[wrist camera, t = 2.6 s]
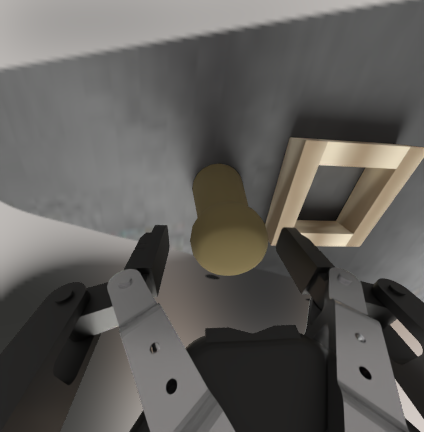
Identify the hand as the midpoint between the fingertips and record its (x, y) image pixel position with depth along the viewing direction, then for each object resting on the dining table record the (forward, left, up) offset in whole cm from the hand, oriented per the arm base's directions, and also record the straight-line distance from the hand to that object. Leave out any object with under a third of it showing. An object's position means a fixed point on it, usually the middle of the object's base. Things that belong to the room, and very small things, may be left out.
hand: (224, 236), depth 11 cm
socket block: (-13, 0, -9) cm, 16 cm away
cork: (0, 0, -9) cm, 9 cm away
